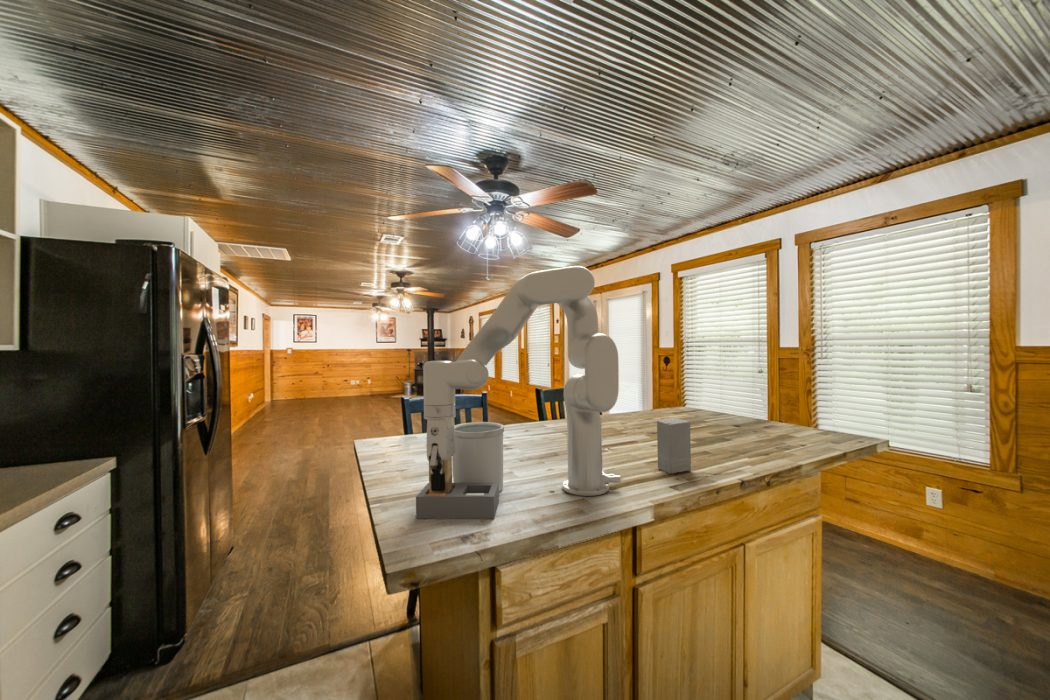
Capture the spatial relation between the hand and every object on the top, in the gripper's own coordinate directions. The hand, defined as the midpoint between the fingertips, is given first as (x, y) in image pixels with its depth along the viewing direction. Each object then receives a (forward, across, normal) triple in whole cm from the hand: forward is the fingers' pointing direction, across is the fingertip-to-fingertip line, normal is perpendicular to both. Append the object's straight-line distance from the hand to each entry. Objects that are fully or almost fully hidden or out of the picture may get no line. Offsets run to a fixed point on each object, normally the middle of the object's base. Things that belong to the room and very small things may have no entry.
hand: (441, 486), depth 96 cm
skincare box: (+6, +32, -66) cm, 74 cm away
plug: (+3, 0, 0) cm, 3 cm away
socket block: (+6, 0, -4) cm, 7 cm away
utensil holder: (+6, +15, -7) cm, 18 cm away
